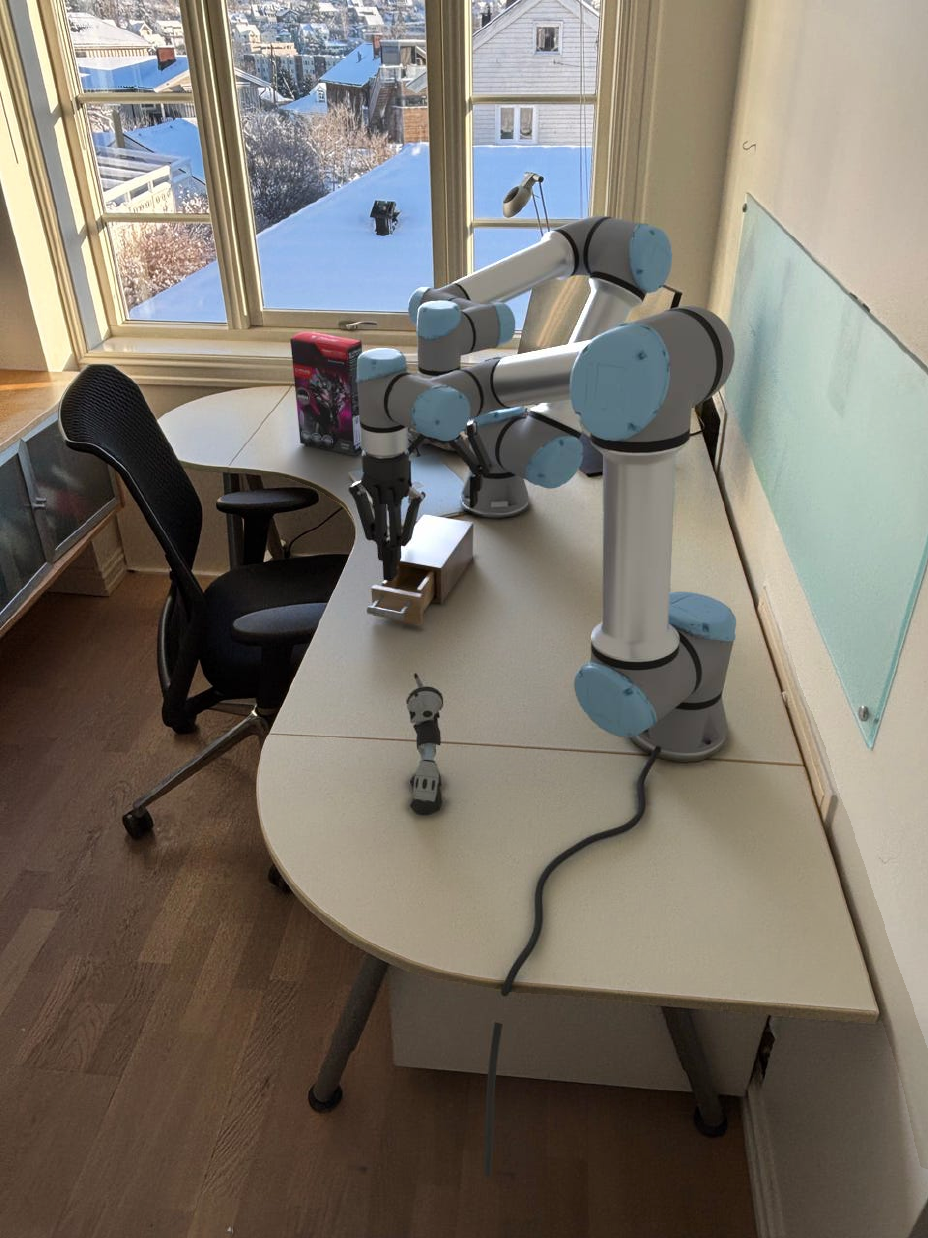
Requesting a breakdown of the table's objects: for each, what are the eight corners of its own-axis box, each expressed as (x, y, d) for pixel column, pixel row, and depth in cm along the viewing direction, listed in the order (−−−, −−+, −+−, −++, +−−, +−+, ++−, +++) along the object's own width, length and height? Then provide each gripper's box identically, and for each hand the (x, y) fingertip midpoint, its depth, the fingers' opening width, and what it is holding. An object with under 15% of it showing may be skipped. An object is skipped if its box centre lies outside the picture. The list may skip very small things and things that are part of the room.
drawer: (409, 641, 161) (408, 613, 158) (360, 631, 163) (358, 603, 160) (453, 577, 179) (453, 550, 175) (408, 569, 181) (407, 542, 178)
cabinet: (441, 604, 173) (440, 568, 168) (389, 594, 175) (387, 558, 171) (472, 557, 187) (473, 522, 183) (424, 548, 190) (424, 514, 186)
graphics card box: (297, 444, 233) (287, 336, 218) (313, 435, 239) (304, 329, 223) (354, 457, 227) (347, 347, 212) (369, 447, 232) (364, 339, 217)
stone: (382, 437, 229) (387, 414, 227) (402, 429, 243) (406, 406, 240) (461, 462, 226) (467, 438, 223) (477, 452, 239) (482, 429, 237)
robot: (446, 845, 123) (445, 731, 112) (409, 846, 123) (405, 732, 112) (441, 747, 139) (440, 638, 128) (409, 747, 139) (405, 639, 128)
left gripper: (512, 394, 165) (507, 501, 177) (383, 377, 171) (387, 481, 183) (499, 408, 159) (496, 518, 171) (366, 390, 165) (372, 497, 177)
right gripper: (431, 446, 147) (433, 572, 160) (357, 435, 151) (364, 560, 164) (414, 464, 141) (417, 594, 154) (337, 452, 145) (346, 580, 158)
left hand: (440, 499), depth 177 cm, fingers open, 13 cm apart
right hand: (390, 576), depth 159 cm, fingers closed
